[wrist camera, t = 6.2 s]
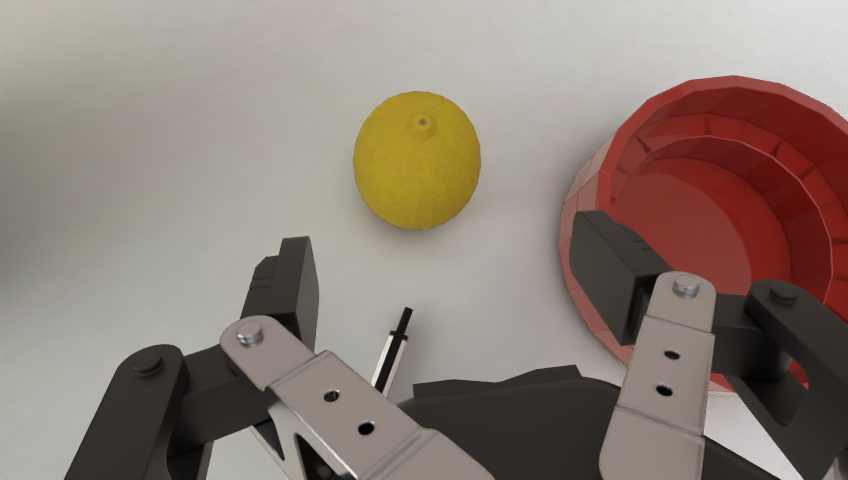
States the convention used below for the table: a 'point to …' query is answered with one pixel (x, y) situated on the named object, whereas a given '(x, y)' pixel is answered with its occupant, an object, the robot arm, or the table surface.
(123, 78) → the table surface
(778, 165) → the bowl
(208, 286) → the table surface
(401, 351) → the pen
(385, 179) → the lemon
